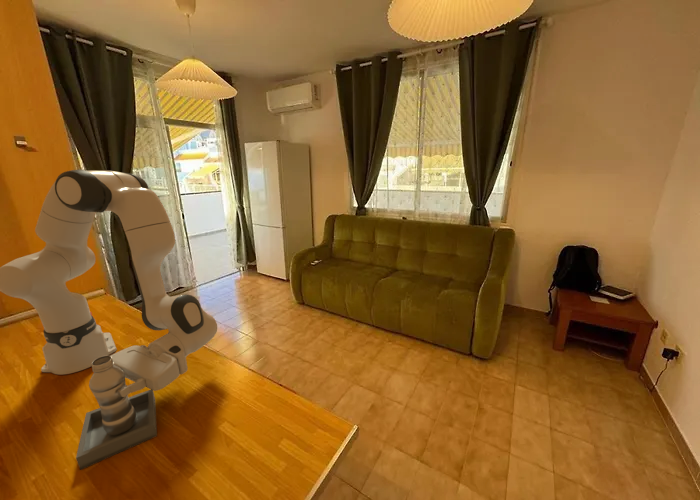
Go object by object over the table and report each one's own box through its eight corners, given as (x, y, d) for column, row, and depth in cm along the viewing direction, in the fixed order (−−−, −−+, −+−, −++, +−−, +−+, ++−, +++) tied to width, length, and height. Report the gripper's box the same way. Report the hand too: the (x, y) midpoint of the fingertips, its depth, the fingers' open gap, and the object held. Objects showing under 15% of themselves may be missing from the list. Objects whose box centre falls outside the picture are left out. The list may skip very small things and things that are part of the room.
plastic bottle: (121, 441, 67) (99, 372, 61) (98, 436, 68) (74, 368, 62) (144, 418, 73) (127, 353, 67) (123, 414, 74) (103, 349, 68)
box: (89, 423, 73) (86, 412, 72) (155, 398, 80) (152, 388, 79) (80, 469, 62) (75, 458, 61) (156, 436, 69) (154, 425, 68)
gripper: (138, 335, 82) (79, 365, 70) (187, 352, 74) (131, 389, 62) (142, 353, 84) (86, 385, 72) (191, 372, 76) (137, 412, 64)
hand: (107, 387), depth 67 cm, fingers open, 8 cm apart
